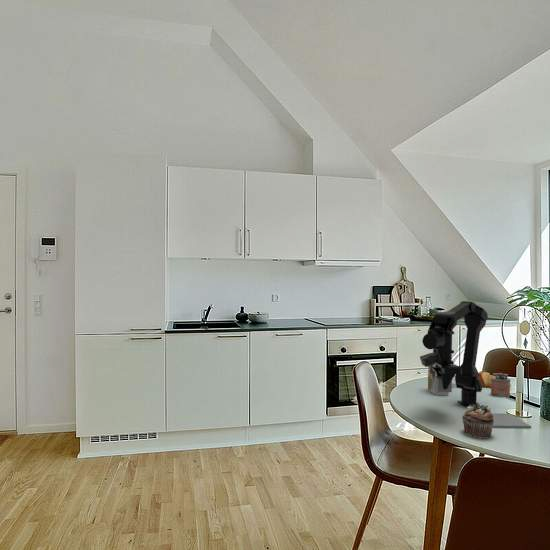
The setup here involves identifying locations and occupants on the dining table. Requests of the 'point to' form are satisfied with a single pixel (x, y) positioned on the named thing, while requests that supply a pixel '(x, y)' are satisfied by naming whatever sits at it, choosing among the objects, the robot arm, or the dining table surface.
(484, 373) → the croissant
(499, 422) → the coaster
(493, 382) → the lighter
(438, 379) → the plug
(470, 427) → the cupcake
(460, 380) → the robot arm
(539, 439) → the dining table surface
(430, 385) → the coffee box
